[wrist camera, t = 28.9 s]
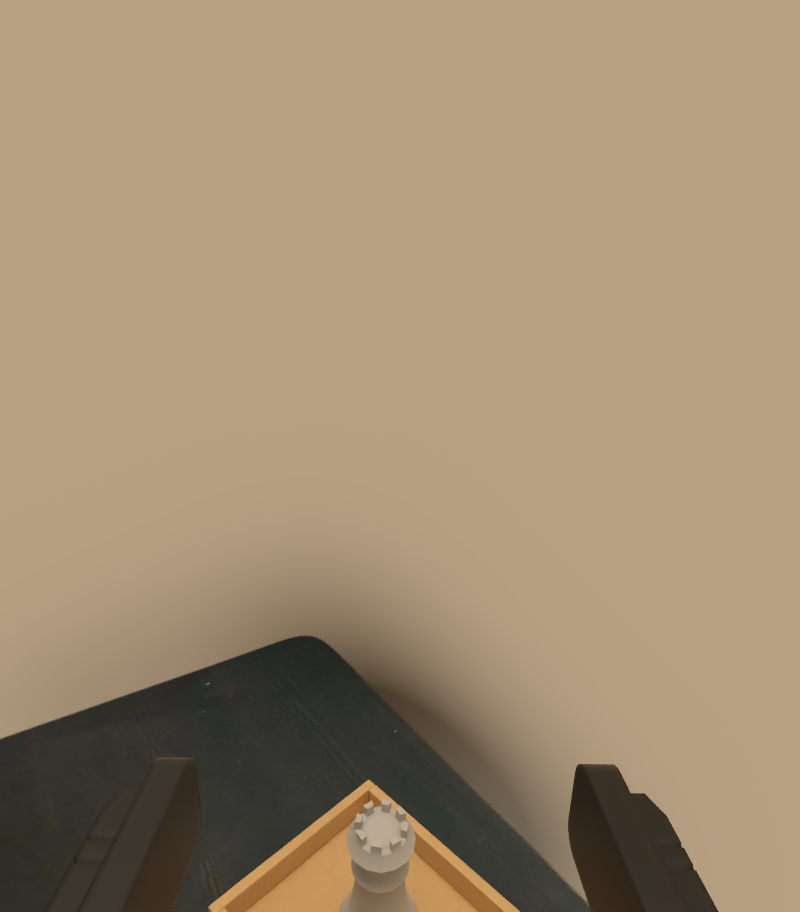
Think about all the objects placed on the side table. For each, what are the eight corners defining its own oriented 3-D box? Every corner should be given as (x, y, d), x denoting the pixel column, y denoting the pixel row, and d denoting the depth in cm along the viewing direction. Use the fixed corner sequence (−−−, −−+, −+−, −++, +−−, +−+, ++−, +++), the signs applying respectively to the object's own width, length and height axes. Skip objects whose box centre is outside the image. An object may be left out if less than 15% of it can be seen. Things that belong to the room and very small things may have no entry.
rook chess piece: (322, 921, 29) (321, 799, 27) (399, 887, 31) (404, 771, 29) (350, 1018, 25) (352, 886, 23) (437, 973, 27) (446, 846, 25)
